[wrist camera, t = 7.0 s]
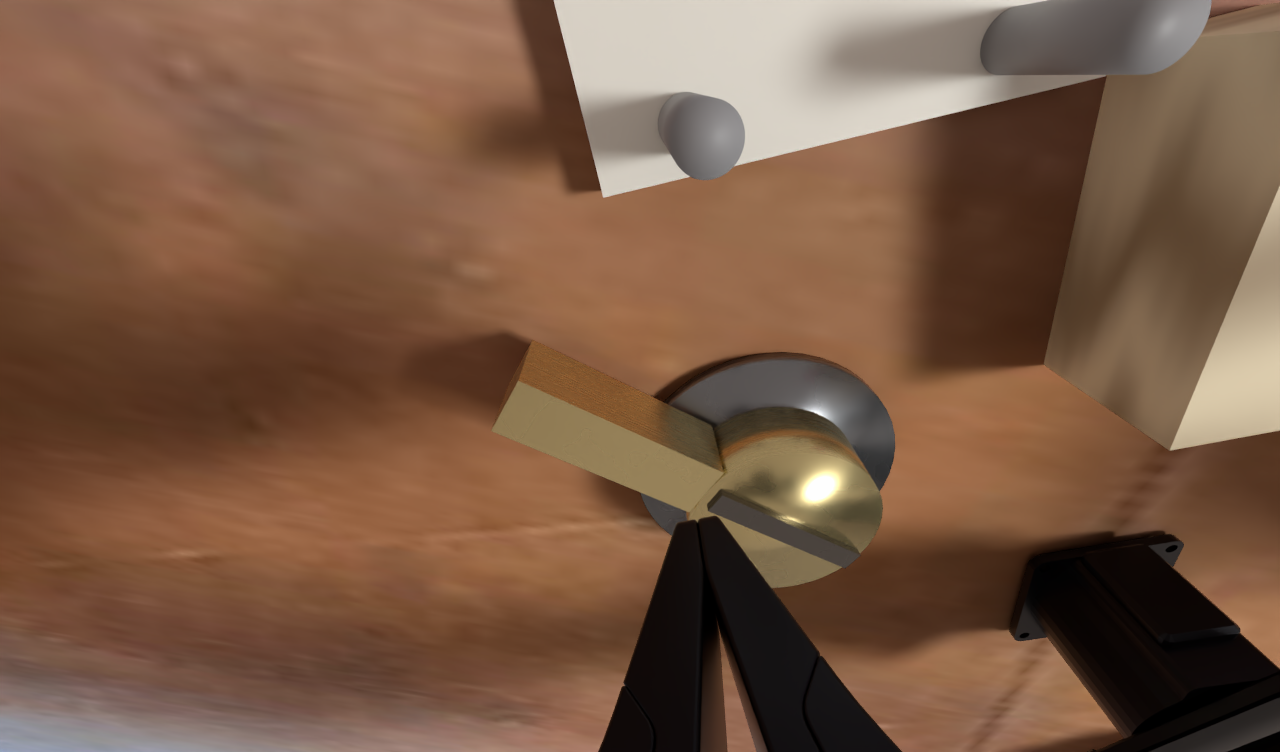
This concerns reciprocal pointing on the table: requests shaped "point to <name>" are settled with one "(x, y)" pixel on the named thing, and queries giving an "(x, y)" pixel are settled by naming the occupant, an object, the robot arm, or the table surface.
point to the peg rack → (830, 69)
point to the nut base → (787, 386)
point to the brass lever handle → (705, 463)
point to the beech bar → (1182, 243)
